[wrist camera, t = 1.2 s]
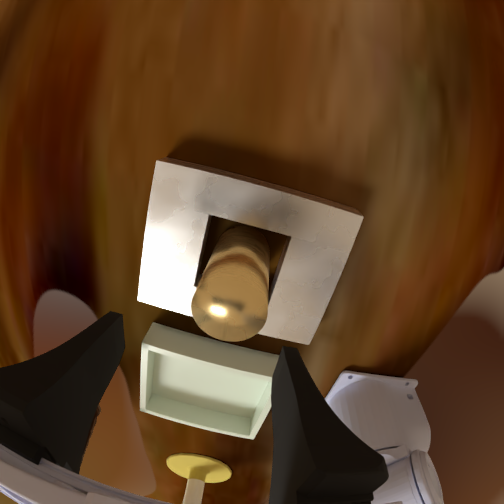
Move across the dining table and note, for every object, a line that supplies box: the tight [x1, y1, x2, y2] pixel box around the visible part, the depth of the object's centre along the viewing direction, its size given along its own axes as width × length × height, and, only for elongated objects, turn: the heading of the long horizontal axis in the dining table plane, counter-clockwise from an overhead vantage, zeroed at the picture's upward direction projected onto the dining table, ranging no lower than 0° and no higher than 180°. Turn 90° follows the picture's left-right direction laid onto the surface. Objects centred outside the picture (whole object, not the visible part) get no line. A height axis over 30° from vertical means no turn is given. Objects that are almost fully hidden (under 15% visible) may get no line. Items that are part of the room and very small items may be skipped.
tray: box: [140, 322, 280, 439], centre depth 27 cm, size 12×10×3 cm
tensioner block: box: [138, 157, 364, 345], centre depth 22 cm, size 14×11×2 cm
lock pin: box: [191, 226, 270, 341], centre depth 20 cm, size 4×4×8 cm
